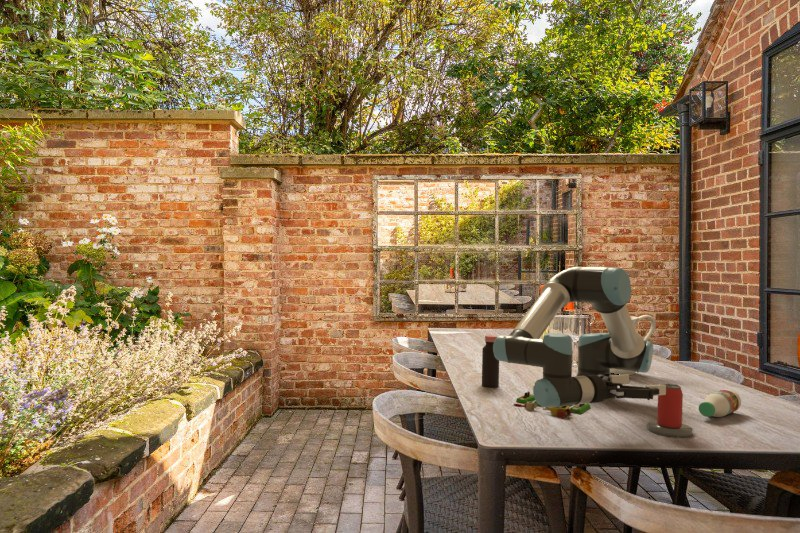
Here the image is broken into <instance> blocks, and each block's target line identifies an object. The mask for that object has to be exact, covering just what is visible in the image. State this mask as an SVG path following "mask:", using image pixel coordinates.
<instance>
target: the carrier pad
mask: <svg viewBox="0 0 800 533" xmlns="http://www.w3.org/2000/svg"><path fill="white" fill-rule="evenodd" d="M646 427H647V430H648V431H650V432H651V433H654V434H657V435H661V436H665V437H670V438H671V437H672V438H690V437H692V436H693V427H691V426H690V425H688V424H685V423H682V427H680V428H677V429H672V428H666V427H662V426H660V425H659V424H658V423H657V419H655V420H654V419H653V420H649V421H647V426H646Z"/></svg>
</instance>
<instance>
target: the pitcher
mask: <svg viewBox="0 0 800 533" xmlns="http://www.w3.org/2000/svg"><path fill="white" fill-rule="evenodd" d="M630 317H631V320H632V322H633V325H634V327H637V326H638V323H639V322H640V321H641V320H644V319H648V320H649V321H650V328H649V330H648V332H647V333H646V335H645V336H644V337H643V339H644V341H646V340H648V341H649V338H651V336H652V335H653V334H654V332H655V330H656V328H657V327H656V326H657V323H656V320H655V318H654V317H653V316H651V315H649V314H642V315H640V316H634V315H630ZM607 333H609V332H608V331H607ZM611 373H614V374H613V375H616V374H620V375H625V374H628V375H629V376H633V374H634V375H635V374H636V373H637V372H634V371H626V370H619V369H611V368H610V374H611Z"/></svg>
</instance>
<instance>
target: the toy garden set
mask: <svg viewBox="0 0 800 533" xmlns="http://www.w3.org/2000/svg"><path fill="white" fill-rule="evenodd" d="M515 402H516V403H513V406H515V407H516V406H517V407H521V408H525V409H526V410H527V411H534V410H535V409H537V410H539V409H540V410H542V411H550V413H551V415H552V416H554V417H557V418H560V419H565V418H566V416H567V415H568V416H571V415H572V414H578V415H582V414H583V413H584V412H587V411H588V410H589V409H591V404H590V403H586V404H579V406H576V405H568V406H560V407H542V406H540V405H539V404H538V403H537V402H536V400H535V398H534V394H532V393H531V391H530V390H528V391H527V392H524V395H522V396H519V397H518V398H516V400H515ZM539 407H542V408H539Z"/></svg>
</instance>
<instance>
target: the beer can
mask: <svg viewBox="0 0 800 533" xmlns="http://www.w3.org/2000/svg"><path fill="white" fill-rule="evenodd" d="M663 384H664V385H666V395H658V396H657V411H656V412H657V416H656V417H657V418H656V420H657V423H658V424H659V425H660V426H662V427H666V428H672V429H677V428H680V427H682V424H683V401H684V400H683V397H684V396H683V395H684V393H683V391H682V386H680V385H678V384H673V383H661V384H659V385H663Z"/></svg>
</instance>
